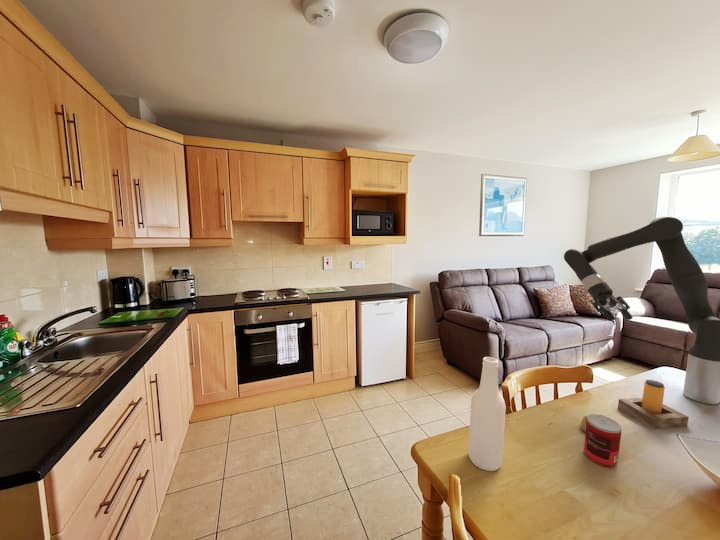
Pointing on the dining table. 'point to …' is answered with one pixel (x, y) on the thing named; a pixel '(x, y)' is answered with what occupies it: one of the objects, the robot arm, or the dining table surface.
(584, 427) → the pastry
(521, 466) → the dining table surface
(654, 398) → the orange travel mug
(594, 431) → the canned food
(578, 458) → the dining table surface
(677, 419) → the wooden square frame
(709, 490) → the dining table surface
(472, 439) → the alcohol
